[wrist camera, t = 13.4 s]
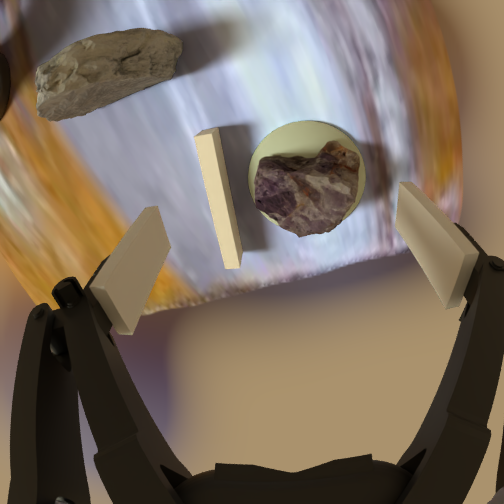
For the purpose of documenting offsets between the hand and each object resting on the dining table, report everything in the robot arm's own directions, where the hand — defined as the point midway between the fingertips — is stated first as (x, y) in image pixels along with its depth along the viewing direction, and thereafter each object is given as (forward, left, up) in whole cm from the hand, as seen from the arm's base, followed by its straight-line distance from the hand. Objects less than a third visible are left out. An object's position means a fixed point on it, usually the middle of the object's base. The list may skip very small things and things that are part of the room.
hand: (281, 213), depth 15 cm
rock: (+3, -6, -21) cm, 22 cm away
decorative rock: (-17, +12, -21) cm, 30 cm away
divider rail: (-8, -7, -21) cm, 24 cm away
